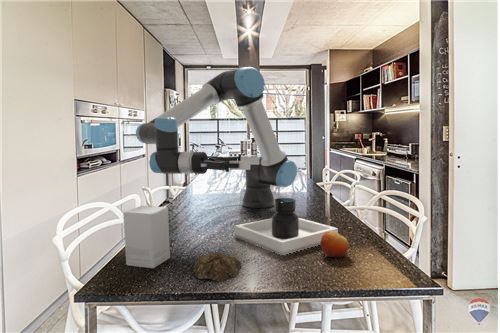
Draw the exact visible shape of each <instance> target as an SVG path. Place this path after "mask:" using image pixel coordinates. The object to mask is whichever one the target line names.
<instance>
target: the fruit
mask: <svg viewBox="0 0 500 333" xmlns="http://www.w3.org/2000/svg"><path fill="white" fill-rule="evenodd" d="M349 247H350V242H348V239H347V237H345V236H343V235H342V234H341V233H339V232H338V233H336V232H334V231H333V232H325V233H324V234H323V236H322V238H321V242H320V249H321V251H322V253H323V254H324V257H323V258H324V259H326V258H327V257H332V258H343V257H344V256H345V255H346V254H347V252H348V250H349Z"/></svg>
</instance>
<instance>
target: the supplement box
mask: <svg viewBox="0 0 500 333" xmlns="http://www.w3.org/2000/svg"><path fill="white" fill-rule="evenodd" d="M122 214H123V229H124V230H123V231H124V232H123V233H124V246H125V248H124V249H125V263H126V266H128V267H129V266H130V267H140V268H147V269H155V268H156V267H158V266H159V265H161V264H163V263H164V262H166V261H167V260H169V259H170V258H171V250H170V248H171V247H170V229H169V227H170V226H169V223H170V222H169V206H167V207H166V206H151V205H140V206H138V207H137V206H136V207H135V208H132V209H128V210H126V211H123V212H122Z"/></svg>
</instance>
